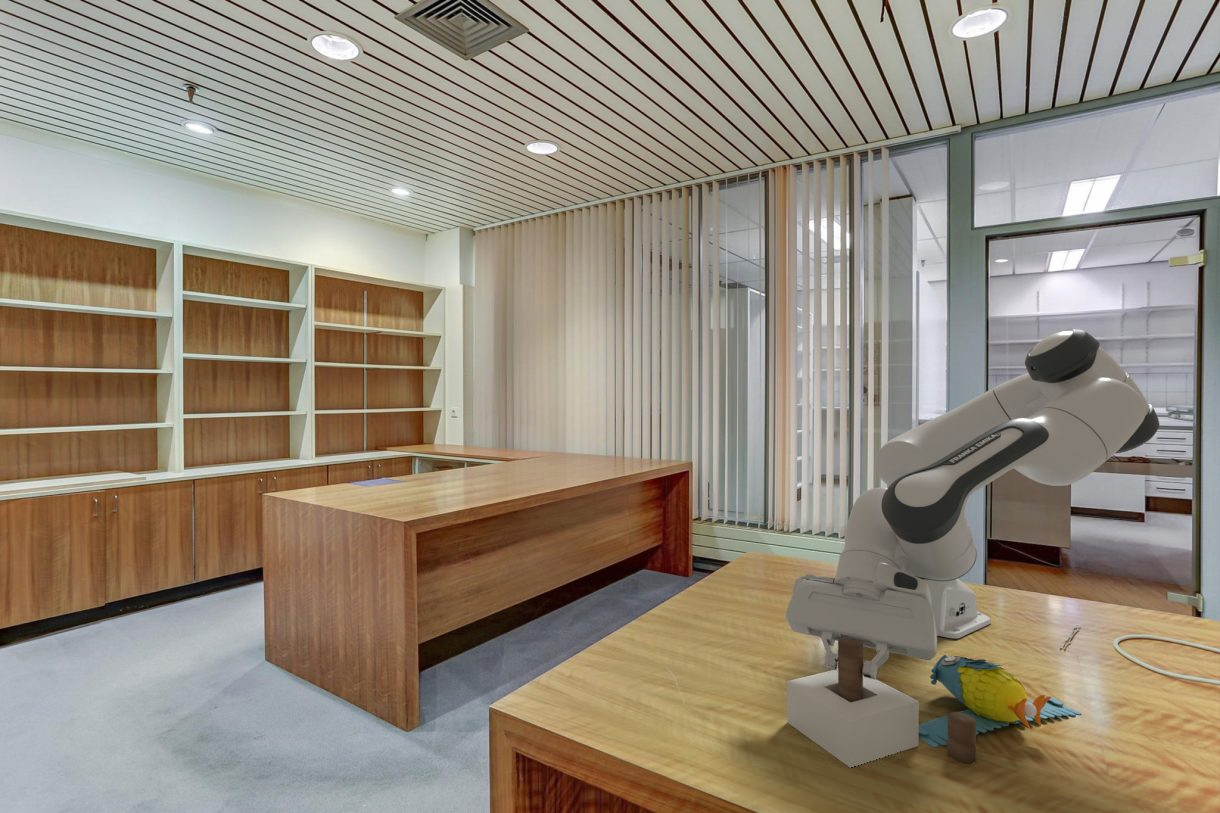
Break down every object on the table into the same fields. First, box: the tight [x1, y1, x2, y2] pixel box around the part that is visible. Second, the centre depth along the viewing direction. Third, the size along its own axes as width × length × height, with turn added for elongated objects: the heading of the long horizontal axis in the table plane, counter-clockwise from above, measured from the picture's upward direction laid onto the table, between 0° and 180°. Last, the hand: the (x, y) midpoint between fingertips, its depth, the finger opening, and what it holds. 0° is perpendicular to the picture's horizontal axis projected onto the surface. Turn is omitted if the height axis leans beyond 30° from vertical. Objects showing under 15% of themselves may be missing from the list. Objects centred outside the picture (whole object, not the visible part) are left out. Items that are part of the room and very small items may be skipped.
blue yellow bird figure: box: [919, 654, 1082, 748], centre depth 90 cm, size 28×9×15 cm
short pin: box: [947, 711, 977, 765], centre depth 80 cm, size 3×3×5 cm
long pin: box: [837, 638, 864, 703], centre depth 86 cm, size 3×3×12 cm
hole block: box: [786, 669, 920, 769], centre depth 86 cm, size 12×12×6 cm
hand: (849, 672), depth 85 cm, fingers open, 4 cm apart
